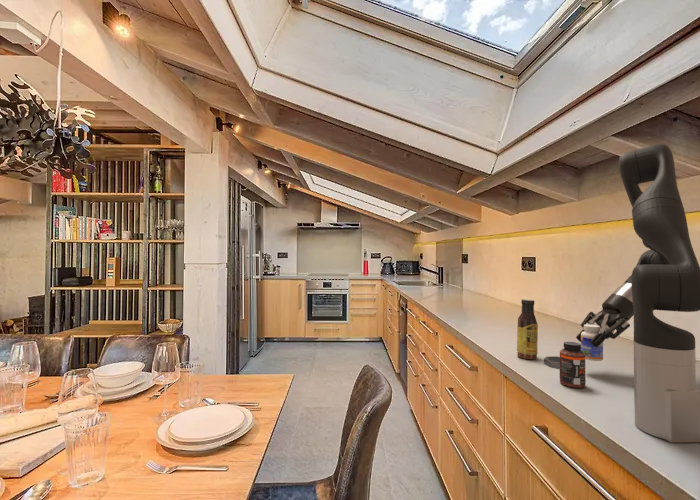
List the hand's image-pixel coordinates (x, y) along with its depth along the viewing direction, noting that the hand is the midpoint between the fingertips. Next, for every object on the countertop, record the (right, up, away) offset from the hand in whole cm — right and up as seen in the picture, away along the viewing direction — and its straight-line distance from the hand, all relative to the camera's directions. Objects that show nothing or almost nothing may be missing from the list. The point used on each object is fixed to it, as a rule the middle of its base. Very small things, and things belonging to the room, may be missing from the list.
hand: (585, 342), depth 103 cm
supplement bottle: (-9, -10, -8) cm, 16 cm away
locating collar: (-2, -10, +9) cm, 13 cm away
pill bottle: (+2, -5, 0) cm, 5 cm away
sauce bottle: (-8, -10, +17) cm, 22 cm away
